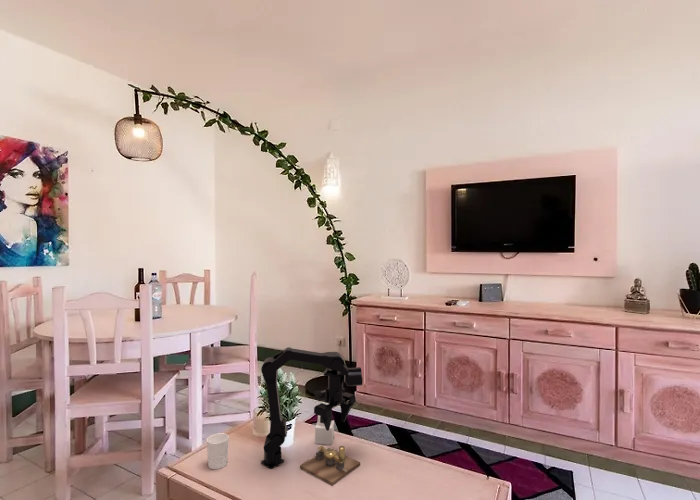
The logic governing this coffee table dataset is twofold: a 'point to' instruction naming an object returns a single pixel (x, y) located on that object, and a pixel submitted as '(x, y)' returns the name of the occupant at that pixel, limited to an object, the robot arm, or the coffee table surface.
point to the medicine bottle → (324, 432)
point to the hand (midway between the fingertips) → (335, 426)
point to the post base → (329, 467)
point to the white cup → (217, 450)
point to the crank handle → (334, 453)
